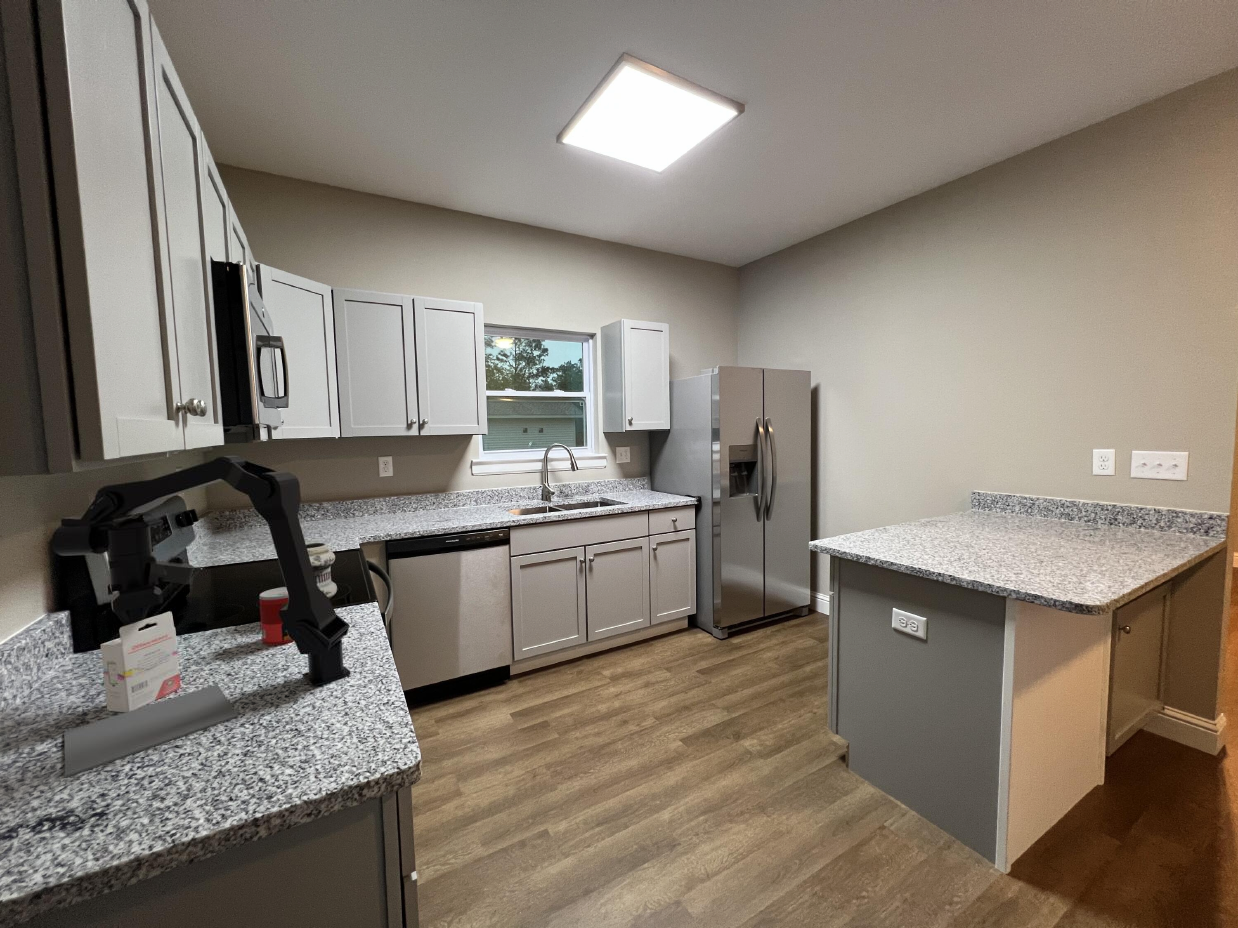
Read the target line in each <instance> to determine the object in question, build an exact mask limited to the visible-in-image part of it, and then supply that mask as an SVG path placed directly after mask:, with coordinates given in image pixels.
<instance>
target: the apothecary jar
mask: <svg viewBox="0 0 1238 928" xmlns="http://www.w3.org/2000/svg"><path fill="white" fill-rule="evenodd" d="M305 543H306V547H307V551H308V554H309V558H310V561H311V565H312V568H313V572H314V576H315V579H316V583H317V586H318V588H319V589H320V590H321V591H322V592H323V593H324V594H325V595H326V596H327V597H328V598H329V600H330V599H331V598H332V597H334V596H335V594H336V593H337V591H338V587H337V584H336V583H335V582H333V580H332V576H331V575H332V573H331V572H332V571H331V566H332V564H334V562H335V560H336V555H335V554H334V552H333V551H331V549H329V546H328V544H327V542H323V541H320V542H319V541H313V542H311V541H310V542H305Z"/></svg>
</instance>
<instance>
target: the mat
mask: <svg viewBox="0 0 1238 928" xmlns="http://www.w3.org/2000/svg"><path fill="white" fill-rule="evenodd" d="M238 717H239V714H238V713H237V712H236V710H235V708H234V707H233V705H232V704H231V702H230V701H229V700H228V698H227V697H226V695H225V693H224V692H223V690H222V689H221V688H220V686H219V684H214V685H211V686H207V687H204V688H201V689H198V690H194V691H192V692H191V691H190V692H188V693H185V694H182V695H178V696H175V697H172V698H169V699H165V700H161V701H158V702H156V703H152V704H149V705H148V704H147V705H144V706H142V707H140V708H138V709H135V710H132V711H129V712H121V713H119V714H117V715H113V716H110V717H106V718H103V719H99V720H97V721H93V722H90V723H86V724H83V725H81V726H77V727H74V728H70V729H67V730H65V731H64V778H69V777H71V776H75V775H77V774H80V773H83V772H86V771H89V770H91V769H94V768H98V767H101V766H103V765H106V764H108V763H111V762H115V761H117V760H120V759H123V758H126V757H129V756H131V755H134V754H137V753H139V752H142V751H145V750H148V749H150V748H154V747H158V746H160V745H163V744H165V743H168V742H171V741H173V740H174V741H175V740H176V739H180V738H183V737H185V736H188V735H191V734H194V733H196V732H199V731H201V730H204V729H208V728H210V727H213V726H216V725H218V724H219V725H220V724H222V723H224V722H228V721H230V720H233V719H237V718H238Z"/></svg>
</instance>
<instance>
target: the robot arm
mask: <svg viewBox="0 0 1238 928" xmlns="http://www.w3.org/2000/svg"><path fill="white" fill-rule="evenodd" d="M223 481H224V482H226V483H227V484H228V485H229V486H231V487H232V488H233V489H234V490H235V491H238V492H240V493H242V494H245V495H247V497H248V499H249V501H250V503H251V504H252V507H253V509H254V510H255V512H256V513H257V514H258V515H259V516H260V517H261V518H262V519H263V520H264V521H265V522H266V523H267V525H268V529H269V532H270V535H271V539H272V542H273V546H274V550H275V553H276V557H277V559H278V564H279V567H280V570H281V574H282V577H283V581H284V585H285V587H286V589H287V592H288V596H289V600H288V605H287V606H286V607H284V608H283V609H281V610H280V611H279V616H280V618H281V620H282V623H283V633H285V632H286V631H287V634H288V636H289V638H290V639H291V640H292V641H293V642H294V644H295V645H296V647H297V650H298V652H299V654H300V655H307V662H308V663H307V664H308V672H304V673H302V678H303V679H304V680H305V681H306V682H307V683H308V684H309V685H310V686H311V687H312V688H315V687H318V686H322V685H324V684H327V683H330V682H332V681H335V680H338V679H341V678H343V677H346V676H349V675H351V674H352V673H351V670H349V668H347V667H346V666H344V657H343V656H344V653H343V640H342V639H343V638H344V637H346V636H347V635H348V634H349V630H350V624H349V622H347V621H345V620H344V619H343V618H341V616H339V615H338V614H337V613H336V610H335V609H334V607H333V603H332V602H331V600H330V599H329V598H328V597H327V596H326V595H325V594H324V593H323V592H322V591H321V590H320V589H319V588H318V586H317V583H316V579H315V576H314V572H313V568H312V565H311V561H310V558H309V554H308V551H307V547H306V543H307V542H306V541H305V536H304V534H303V530H302V527H301V522H300V519H299V510H300V506H301V501H302V498H301V497H302V495H301V488H300V487H301V486H300V480H299V479H298V477H297V476H296V474H295V475H294V474H293V473H291V472H289V471H284V470H282V471H281V470H279V471H278V470H275V469H273V468H272V467H267V466H265V465H262V464H258V463H255V462H253V461H250V460H247V459H245V458H243V457H241V456H240V455H227V456H225V455H223V456H218V457H215V458H214V459H213V460H210V461H206V462H204V463H200V464H197V465H194V466H193V465H192V466H191V467H187V468H183V469H181V470H178V471H174V472H170V473H167V474H165V475H161V476H157V477H154V478H151V479H146V480H138V481H132V482H131V481H130V482H123V483H115V484H108V485H104V486H101V487H100V488H98V489H97V490H96V494H95V497H94V500H93V501H92V503H91V504H90V505H89V507H88V508H87V510H86V511H85V512H84V514H83V515H82V516H71V517H64V518H61V519H60V524H61V525H59V527H57V528H56V529H55V531H54V532H53V533H52V535H51V536H52V537H51V538H50V540H49V543H50V547H51V549H52V551H53V552H54V553H55V554H57V555H59V556H62V557H63V556H66V557H67V556H85V555H87V556H88V555H101V554H102V555H103V554H105V553H106V552H107V565H108V571H109V572H108V573H109V574H108V575H109V580H108V581H106V593H107V595H108V596H109V595H112V596H111V598H110V600H109V602H110V605H111V609H112V611H113V613H115V614H116V615H117V617H118V618H119V619H120V621H121V622H122V624H123V625H124V626H127V625H130V624H133V623H136V622H138V621H141V620H144V619H147V618H146V617H147V613H148V610H149V608H150V607H151V606H155V605H157V606H158V605H160V604H163V603H164V594H163V590H161V588H159V587H157V586H156V585H159V581H160V582H168V583H169V582H170V583H178V584H181V585H189V584H190V582H191V579H192V576H193V573H194V570H195V567H194V566H193V564H189V563H184V561H183V558H182V557H181V556H176V555H175V556H173V555H171V556H170V557H169V558H168V559H166V560H157V558H156V556H155V555H154V554H153V551H152V549H153V547H152V538H151V529H150V528H152V527H155V526H156V527H157V526H160V525H161V526H162V525H163V523H164V521H163V520H162V519H160V518H159V517H156V516H154V515H153V514H152V512H151V513H150V512H148V511H150V510H152V509H155V508H156V507H158V506H160V505H162V504H163V503H164V502H165V501H167V500H168V499H170V498H173V497H174V496H178V495H181V494H183V493H187V492H191V491H193V490H197V489H200V488H204V487H206V486H210V485H212V484H216V483H219V482H223ZM146 512H148V513H146ZM141 513H142V514H141ZM136 514H139V515H138V517H133V516H135V515H136ZM114 521H115V523H114ZM144 627H145V626H144ZM144 627H141V628H139V629H138V631H142V630H144V629H145V628H144Z"/></svg>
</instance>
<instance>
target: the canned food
mask: <svg viewBox="0 0 1238 928" xmlns="http://www.w3.org/2000/svg"><path fill="white" fill-rule="evenodd" d="M288 600H289V596H288V592H287V589H286V586H281V587H277V588H272V589H268V590H265V591H262V592H261V593H260V594H259V615H260V628H261V629H260V630H261V639H262V640H261V641H262V642H263V644H264V645H266V646H281V644H282V645H286V644H289V643H293V642H294V641H292V640H291V639H290V638H289V636H288V634H287V631H286V632H285V633H283V623H282V620H281V618H280V616H279V611H280V610H281V609H283V608H284V607H286V606H287V605H288Z"/></svg>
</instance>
